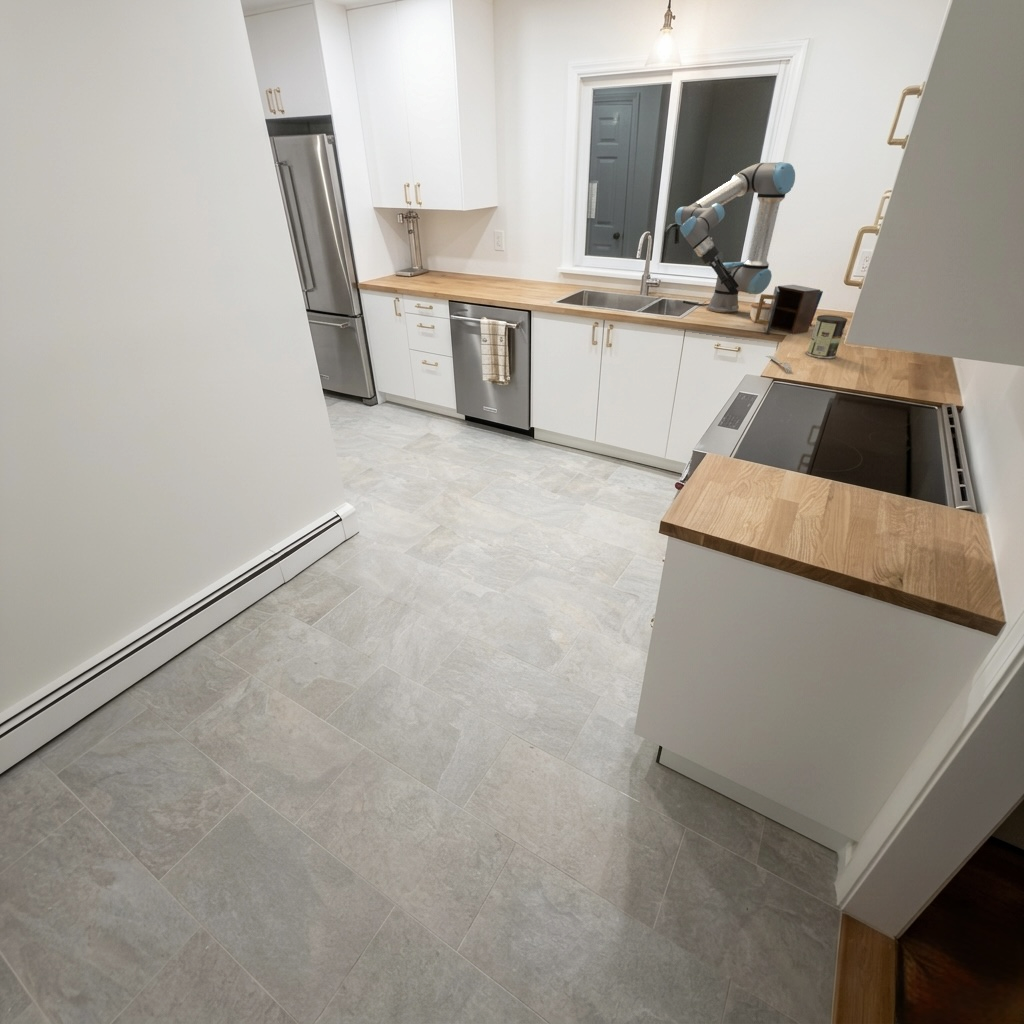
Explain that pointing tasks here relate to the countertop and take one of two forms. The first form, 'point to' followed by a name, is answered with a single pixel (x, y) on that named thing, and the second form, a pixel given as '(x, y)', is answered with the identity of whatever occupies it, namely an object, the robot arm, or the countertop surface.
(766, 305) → the trinket box
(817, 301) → the brown tall block
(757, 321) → the cupboard door
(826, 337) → the coffee can
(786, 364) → the fork
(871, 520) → the countertop surface
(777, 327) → the cupboard
